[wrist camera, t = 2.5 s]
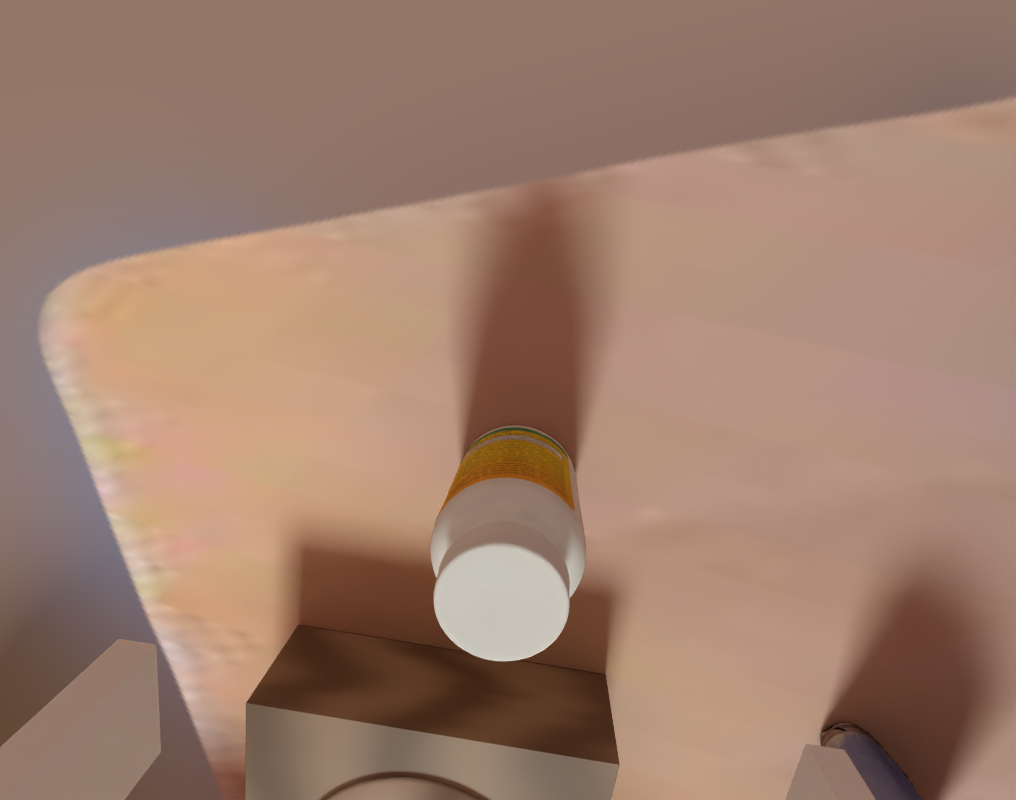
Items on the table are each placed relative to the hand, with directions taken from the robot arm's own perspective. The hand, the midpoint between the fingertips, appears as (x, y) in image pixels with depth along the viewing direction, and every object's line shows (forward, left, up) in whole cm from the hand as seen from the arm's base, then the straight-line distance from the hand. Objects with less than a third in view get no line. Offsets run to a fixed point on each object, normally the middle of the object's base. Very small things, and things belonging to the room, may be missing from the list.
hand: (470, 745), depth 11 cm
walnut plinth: (+2, +18, -14) cm, 23 cm away
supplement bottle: (0, 0, -15) cm, 15 cm away
